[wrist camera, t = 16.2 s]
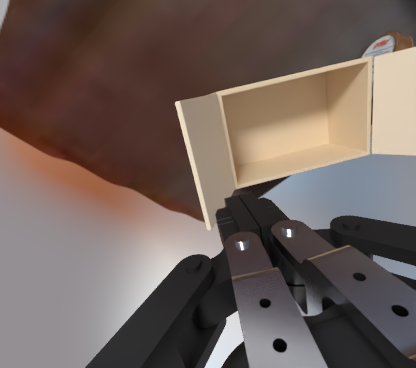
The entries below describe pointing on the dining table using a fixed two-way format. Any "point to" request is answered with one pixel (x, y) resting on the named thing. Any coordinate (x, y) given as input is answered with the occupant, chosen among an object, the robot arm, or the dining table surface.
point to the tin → (386, 50)
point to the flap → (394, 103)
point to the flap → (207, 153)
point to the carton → (297, 121)
